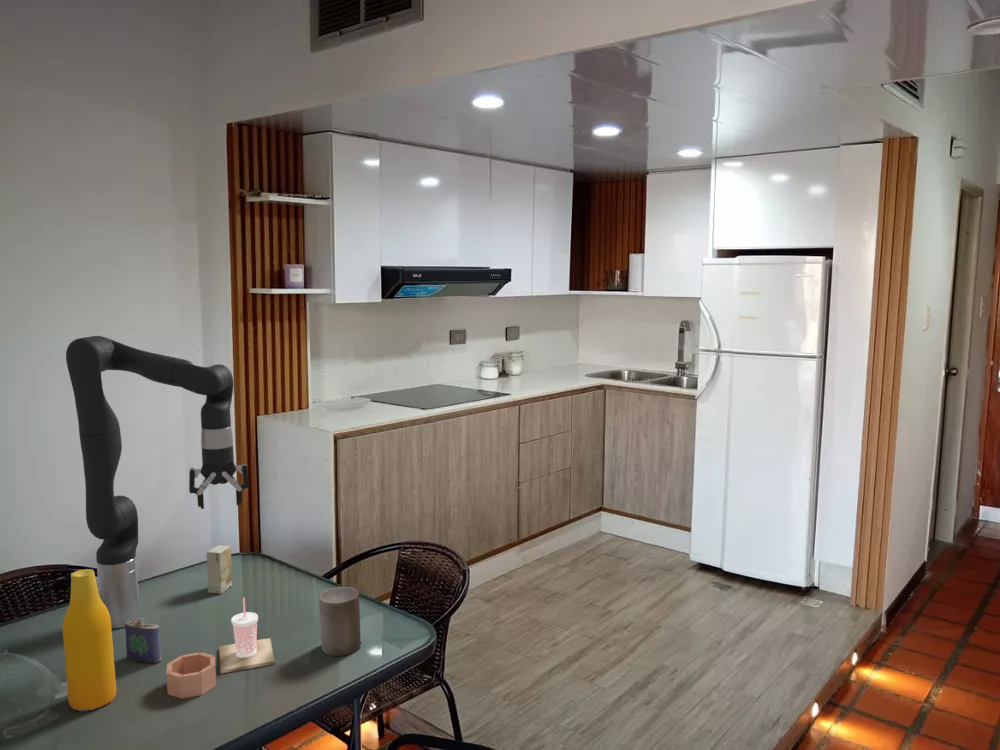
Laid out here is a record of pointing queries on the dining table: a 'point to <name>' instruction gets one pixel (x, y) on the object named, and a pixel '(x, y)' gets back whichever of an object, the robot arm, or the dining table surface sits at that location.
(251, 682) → the dining table surface
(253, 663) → the wooden coaster
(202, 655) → the ceramic ring
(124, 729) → the dining table surface
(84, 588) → the beer bottle
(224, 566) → the skincare box
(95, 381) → the robot arm
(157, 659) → the flask
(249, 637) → the beverage cup
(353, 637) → the pillar candle
